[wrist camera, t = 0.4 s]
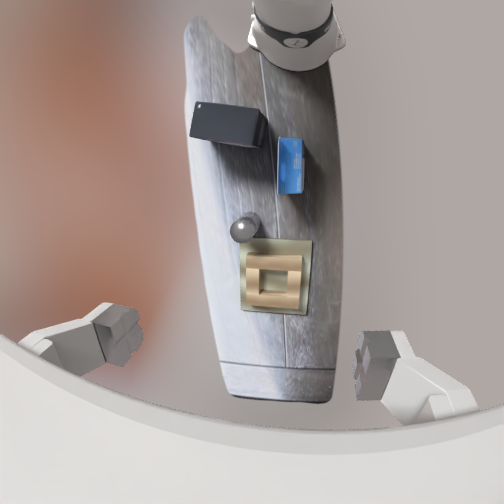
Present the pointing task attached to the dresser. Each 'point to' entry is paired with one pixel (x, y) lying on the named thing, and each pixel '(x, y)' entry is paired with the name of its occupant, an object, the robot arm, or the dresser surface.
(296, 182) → the label tape box
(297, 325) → the dresser surface
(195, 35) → the dresser surface
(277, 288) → the hub block
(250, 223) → the peg
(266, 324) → the dresser surface
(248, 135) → the small box
